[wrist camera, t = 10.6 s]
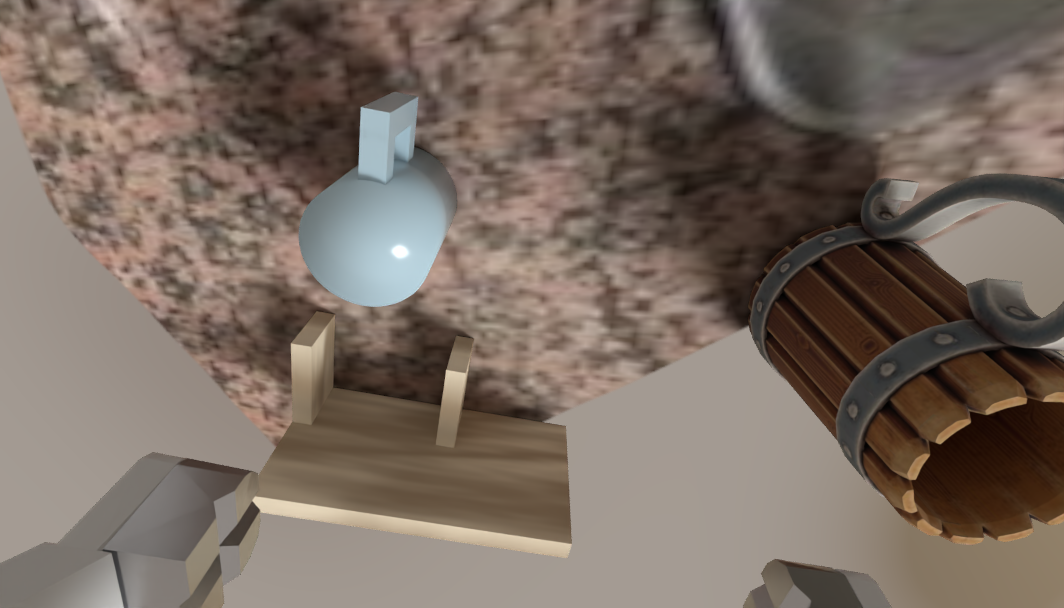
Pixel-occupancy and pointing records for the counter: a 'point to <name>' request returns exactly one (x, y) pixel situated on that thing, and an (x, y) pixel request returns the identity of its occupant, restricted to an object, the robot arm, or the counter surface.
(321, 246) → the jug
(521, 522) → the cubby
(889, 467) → the mug
